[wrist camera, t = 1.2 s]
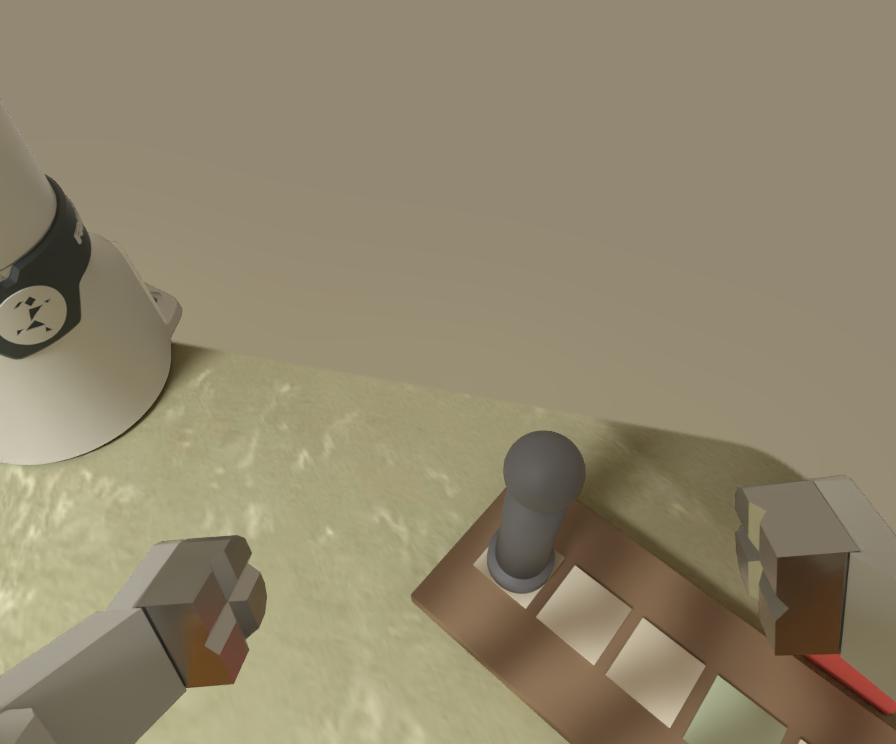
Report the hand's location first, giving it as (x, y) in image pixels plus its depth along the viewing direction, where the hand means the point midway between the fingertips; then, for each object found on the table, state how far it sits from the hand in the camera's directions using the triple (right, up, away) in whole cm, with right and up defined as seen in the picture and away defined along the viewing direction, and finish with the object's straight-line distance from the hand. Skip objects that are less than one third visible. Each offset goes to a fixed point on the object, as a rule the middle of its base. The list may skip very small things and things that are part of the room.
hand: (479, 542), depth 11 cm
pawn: (+4, -8, +27) cm, 28 cm away
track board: (+10, -14, +24) cm, 30 cm away
